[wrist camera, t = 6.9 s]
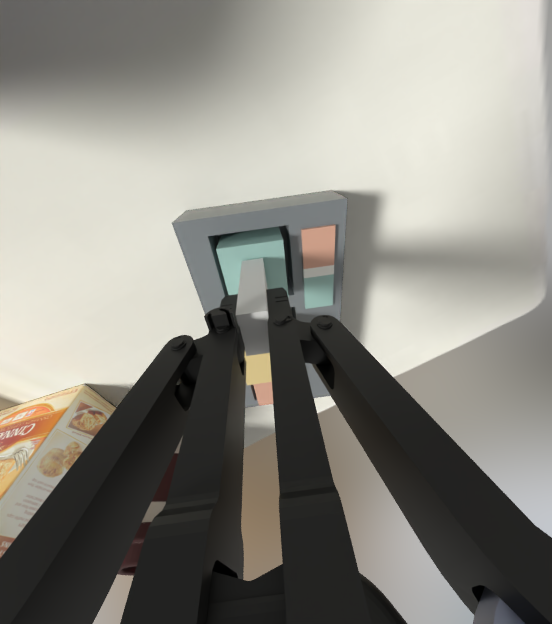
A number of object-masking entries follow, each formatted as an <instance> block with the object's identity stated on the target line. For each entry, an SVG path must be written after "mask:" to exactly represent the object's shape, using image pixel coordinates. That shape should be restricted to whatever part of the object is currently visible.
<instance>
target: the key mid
mask: <svg viewBox="0 0 552 624" xmlns="http://www.w3.org/2000/svg"><path fill="white" fill-rule="evenodd" d="M245 360H246V383H247V385H253V384H260V383H267V382H272V378H271V364H270V353H265V354H257V355H250V356H246V352H245Z"/></svg>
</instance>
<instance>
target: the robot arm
mask: <svg viewBox="0 0 552 624" xmlns="http://www.w3.org/2000/svg"><path fill="white" fill-rule="evenodd" d="M204 318H205V320H206V323H207V326H208V328H209V334H208V335H206V336H204V337H202V338H199V339H196V340H193V338H192V337H191V336H188V335H181V336H178V337H175V338H173V339H172V340H170V341H169V342H168V343H167V344H166V345H165V346H164V347H163V349H162V350H161V351H160V353H159V354H158V355H157V356H156V358H155V359H154V360H153V362H152V363H151V364H150V365H149V367H148V368H147V369H146V371H145V372H144V373H143V375H142V376H141V377H140V378H139V380H138V381H137V382H136V384H135V385H134V386H133V387H132V389H131V390H130V391H129V393H128V394H127V395H126V396H125V398H124V399H123V400H122V402H121V403H120V404H119V405H118V407H117V408H116V409H115V411H114V412H113V413H112V415H111V416H110V417H109V418H108V420H107V421H106V422H105V424H104V425H103V426H102V427H101V429H100V430H99V431H98V433H97V434H96V435H95V436H94V438H93V439H92V440H91V442H90V443H89V444H88V446H87V447H86V448H85V449H84V451H83V452H82V453H81V455H80V456H79V457H78V458H77V460H76V461H75V462H74V464H73V465H72V466H71V467H70V469H69V470H68V471H67V473H66V474H65V475H64V476H63V478H62V479H61V480H60V482H59V483H58V484H57V486H56V487H55V488H54V489H53V491H52V492H51V493H50V495H49V496H48V497H47V498H46V500H45V501H44V502H43V504H42V505H41V506H40V507H39V509H38V510H37V511H36V513H35V514H34V515H33V516H32V518H31V519H30V520H29V522H28V523H27V524H26V526H25V527H24V528H23V529H22V531H21V532H20V533H19V535H18V536H17V537H16V538H15V540H14V541H13V542H12V544H11V545H10V546H9V547H8V549H7V550H6V551H5V553H4V554H3V555H2V556H1V558H0V624H92V623H93V622H94V620H95V618H96V616H97V614H98V612H99V610H100V608H101V606H102V604H103V602H104V600H105V598H106V596H107V594H108V592H109V590H110V588H111V586H112V584H113V582H114V580H115V578H116V575H117V573H118V571H119V569H120V567H121V565H122V563H123V561H124V559H125V556H126V554H127V552H128V550H129V548H130V546H131V544H132V542H133V540H134V537H135V535H136V533H137V531H138V529H139V527H140V525H141V523H142V521H143V518H144V516H145V514H146V512H147V510H148V508H149V506H150V504H151V502H152V499H153V497H154V495H155V493H156V491H157V489H158V487H159V485H160V483H161V480H162V478H163V476H164V474H165V472H166V470H167V468H168V466H169V464H170V462H171V459H172V457H173V455H174V453H175V451H176V449H177V447H178V445H179V443H180V440H181V438H182V441H181V445H180V449H179V453H178V457H177V461H176V465H175V469H174V473H173V477H172V481H171V485H170V489H169V493H168V497H167V501H166V504H165V506H164V508H163V510H162V511H161V512H160V513H159V514H157V515H156V516H155V517H154V519H153V520H152V522H151V524H150V526H149V528H148V530H147V533H146V536H145V539H144V542H143V545H142V549H141V552H140V556H139V560H138V563H137V567H136V570H135V574H134V577H133V581H132V585H131V588H130V591H129V595H128V598H127V602H126V605H125V609H124V612H123V616H122V619H121V623H120V624H407V623H406V621H405V620H404V619H403V618H402V616H401V615H400V614H399V613H398V611H397V610H396V609H395V608H394V606H393V605H392V604H391V603H390V601H389V600H388V599H387V598H386V597H385V595H384V594H383V593H382V592H381V591H380V590H379V589H378V588H377V587H376V586H375V585H374V584H373V583H372V582H371V581H369V580H368V579H367V578H366V577H364V576H363V575H362V574H360V573H359V571H358V567H357V563H356V559H355V555H354V551H353V547H352V543H351V539H350V535H349V531H348V527H347V523H346V519H345V515H344V511H343V507H342V503H341V500H340V497H339V494H338V491H337V489H336V487H335V485H334V482H333V478H332V474H331V470H330V466H329V461H328V457H327V453H326V449H325V445H324V441H323V436H322V432H321V428H320V424H319V420H318V415H317V411H316V407H315V403H314V399H313V394H312V390H311V386H310V382H309V378H308V373H307V369H306V365H305V363H310V364H312V365H313V368H314V369H315V371H316V372H317V374H318V376H319V377H320V379H321V381H322V382H323V384H324V385H325V387H326V389H327V390H328V392H329V394H330V395H331V397H332V399H333V400H334V402H335V403H336V405H337V406H338V408H339V410H340V412H341V413H342V415H343V416H344V418H345V420H346V421H347V423H348V424H349V426H350V428H351V429H352V431H353V433H354V434H355V436H356V437H357V439H358V441H359V442H360V444H361V445H362V447H363V449H364V451H365V452H366V454H367V455H368V457H369V459H370V460H371V462H372V464H373V465H374V467H375V468H376V470H377V472H378V473H379V475H380V477H381V478H382V480H383V481H384V483H385V485H386V486H387V488H388V490H389V491H390V493H391V495H392V496H393V498H394V499H395V501H396V503H397V504H398V506H399V508H400V509H401V511H402V512H403V514H404V516H405V517H406V519H407V521H408V522H409V524H410V525H411V527H412V529H413V530H414V532H415V533H416V535H417V537H418V538H419V540H420V542H421V543H422V545H423V547H424V548H425V550H426V551H427V553H428V554H429V555H430V557H431V559H432V560H433V562H434V563H435V565H436V566H437V568H438V569H439V571H440V572H441V574H442V575H443V576H444V578H445V579H446V580H447V582H448V583H449V584H450V586H451V587H452V588H453V590H454V591H455V592H456V593H457V595H458V596H459V597H460V599H461V600H462V601H463V603H464V604H465V605H466V606H467V607H468V608H469V610H470V611H471V612H472V613H473V614H474V621H473V624H552V538H551V537H550V536H548V535H547V534H546V533H544V532H543V531H542V530H540V529H539V528H538V527H536V526H535V525H534V524H533V523H532V522H531V521H530V520H529V519H528V518H527V517H526V515H525V514H524V513H523V512H522V511H521V510H520V509H519V508H518V507H517V506H516V505H515V504H514V503H513V502H512V501H511V500H510V499H509V498H508V497H507V496H506V495H505V494H504V493H503V491H501V489H500V488H499V487H498V486H497V485H496V484H495V483H494V482H493V481H492V480H491V479H490V478H489V477H488V476H487V475H486V474H485V473H484V472H483V471H482V470H481V469H480V468H479V467H478V466H477V464H476V463H475V462H474V461H473V460H472V459H470V457H469V456H468V455H467V454H466V453H465V452H464V451H463V450H462V449H461V448H460V447H459V446H458V445H457V443H456V442H454V440H453V439H452V438H451V437H450V436H449V435H448V434H447V433H446V432H445V431H444V430H443V429H442V428H441V427H440V426H439V425H438V424H437V423H436V422H435V421H434V420H433V418H432V417H431V416H429V414H428V413H427V412H426V411H425V410H424V409H423V408H422V407H421V406H420V405H419V404H418V403H417V402H416V401H415V400H414V399H413V398H412V397H411V395H410V394H409V393H408V392H406V390H405V389H404V388H403V387H402V386H401V385H400V384H399V383H398V382H397V381H396V380H395V379H394V378H393V377H392V376H391V375H390V374H389V373H388V371H387V370H386V369H385V368H384V367H383V366H382V365H381V364H380V363H379V362H378V361H377V360H376V359H375V358H374V357H373V356H372V355H371V354H370V353H369V352H368V351H367V350H366V349H365V347H364V346H363V345H362V344H361V343H360V342H359V341H358V340H357V339H356V338H355V337H354V336H353V335H352V334H351V333H350V332H349V331H348V330H347V329H346V328H345V327H344V326H343V325H342V323H341V322H340V321H339V320H338V319H336V318H335V317H333V316H330V315H320V316H317V317H315V318H313V319H312V320H311V323H309V322H301V321H298V320H296V319H295V318H294V317H293V315H292V312H291V307H290V303H289V299H288V295H287V291H286V290H285V289H284V288H283V287H281V288H273V289H268V288H267V281H266V275H265V268H264V262H263V258H259V259H252V260H245V261H242V264H241V272H240V281H239V289H238V294H235V295H228V296H225V297H224V298H223V299H222V300H221V304H220V307H219V308H215V309H213V310H210V311H209V312H208V313H206V315H205V317H204ZM245 352H246V356H250V355H257V354H265V353H270V364H271V378H272V391H273V405H274V418H275V432H276V445H277V459H278V472H279V486H280V496H279V513H280V529H281V544H282V557H283V564H282V565H280V566H278V567H276V568H274V569H273V570H271V571H269V572H267V573H265V574H264V575H262V576H260V577H258V578H256V579H254V580H252V581H245V580H243V567H244V557H243V556H244V553H243V552H244V551H243V540H242V534H241V509H242V480H243V476H242V475H243V449H244V421H245V391H246V360H245ZM182 436H183V437H182Z"/></svg>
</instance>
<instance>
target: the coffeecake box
mask: <svg viewBox="0 0 552 624" xmlns="http://www.w3.org/2000/svg"><path fill="white" fill-rule="evenodd" d="M115 409H116V407H114V406H113V405H111V404H110V403H109V402H107V401H106V400H105V399H104V398H102V397H101V396H100V395H99V394H98V393H96V392H95V391H94V390H92V389H91V388H90V387H88V386H87V385H86V384H82V385H79V386H76V387H73V388H70V389H67V390H64V391H60V392H57V393H54V394H51V395H48V396H45V397H42V398H39V399H36V400H33V401H29V402H26V403H23V404H20V405H17V406H14V407H11V408H8V409H5V410H1V411H0V558H1V556H2V555H3V554H4V553H5V551H6V550H7V549H8V547H9V546H10V545H11V544H12V542H13V541H14V540H15V538H16V537H17V536H18V535H19V533H20V532H21V531H22V529H23V528H24V527H25V526H26V524H27V523H28V522H29V520H30V519H31V518H32V516H33V515H34V514H35V513H36V511H37V510H38V509H39V507H40V506H41V505H42V504H43V502H44V501H45V500H46V498H47V497H48V496H49V495H50V493H51V492H52V491H53V489H54V488H55V487H56V486H57V484H58V483H59V482H60V480H61V479H62V478H63V476H64V475H65V474H66V473H67V471H68V470H69V469H70V467H71V466H72V465H73V464H74V462H75V461H76V460H77V458H78V457H79V456H80V455H81V453H82V452H83V451H84V449H85V448H86V447H87V446H88V444H89V443H90V442H91V440H92V439H93V438H94V436H95V435H96V434H97V433H98V431H99V430H100V429H101V427H102V426H103V425H104V424H105V422H106V421H107V420H108V418H109V417H110V416H111V415H112V413H113V412H114V411H115Z"/></svg>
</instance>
